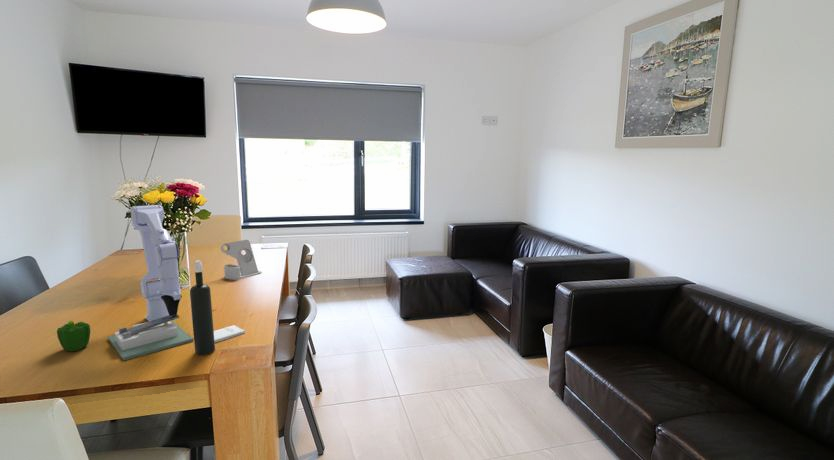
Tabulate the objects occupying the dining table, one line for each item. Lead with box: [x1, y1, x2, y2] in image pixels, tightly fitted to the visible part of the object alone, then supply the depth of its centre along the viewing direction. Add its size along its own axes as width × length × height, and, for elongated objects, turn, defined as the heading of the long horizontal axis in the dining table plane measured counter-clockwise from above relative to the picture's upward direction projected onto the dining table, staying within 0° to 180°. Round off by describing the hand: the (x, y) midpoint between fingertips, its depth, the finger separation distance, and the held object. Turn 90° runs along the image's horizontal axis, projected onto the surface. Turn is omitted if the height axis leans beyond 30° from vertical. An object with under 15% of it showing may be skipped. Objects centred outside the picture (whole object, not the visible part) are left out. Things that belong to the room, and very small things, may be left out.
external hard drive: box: [214, 324, 246, 344], centre depth 149 cm, size 2×8×12 cm
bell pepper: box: [56, 320, 91, 352], centre depth 137 cm, size 8×8×10 cm
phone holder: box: [220, 239, 263, 281], centre depth 224 cm, size 17×10×18 cm, turn 147°
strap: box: [122, 313, 180, 335], centre depth 144 cm, size 16×4×1 cm, turn 136°
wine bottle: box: [189, 260, 216, 356], centre depth 134 cm, size 6×6×30 cm
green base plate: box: [107, 320, 194, 361], centre depth 144 cm, size 22×20×6 cm
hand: (173, 314), depth 149 cm, fingers closed
